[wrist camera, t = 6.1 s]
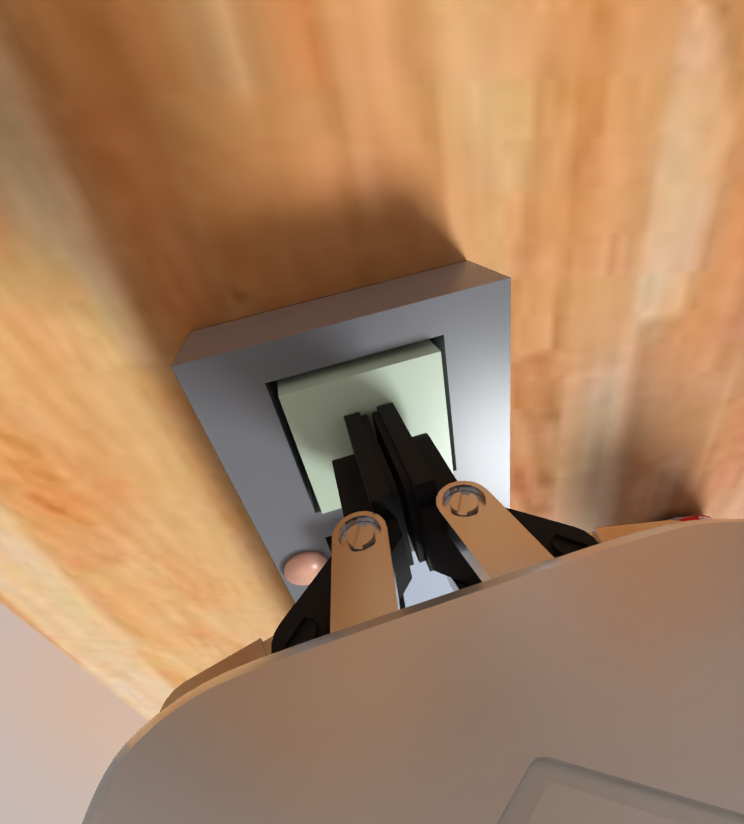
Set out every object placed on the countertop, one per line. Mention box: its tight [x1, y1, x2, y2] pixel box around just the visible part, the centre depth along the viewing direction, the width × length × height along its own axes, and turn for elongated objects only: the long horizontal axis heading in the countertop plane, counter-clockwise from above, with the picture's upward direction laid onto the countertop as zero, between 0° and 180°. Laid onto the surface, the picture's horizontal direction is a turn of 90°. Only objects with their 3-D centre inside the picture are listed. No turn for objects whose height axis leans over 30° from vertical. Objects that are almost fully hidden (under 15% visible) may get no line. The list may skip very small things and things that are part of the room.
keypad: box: [171, 260, 511, 603], centre depth 18 cm, size 22×10×3 cm, turn 11°
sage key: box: [278, 339, 453, 514], centre depth 14 cm, size 5×5×2 cm
